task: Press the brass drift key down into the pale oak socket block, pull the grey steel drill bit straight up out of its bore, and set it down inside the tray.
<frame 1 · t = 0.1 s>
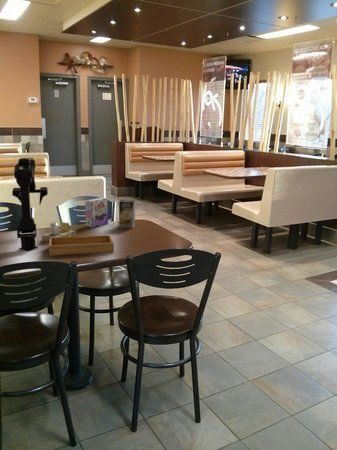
hand: (31, 205, 232), 15 cm above the table, tool pointing down, fingers open, 9 cm apart
tray: (81, 251, 203), on the table
coffee box: (127, 226, 249), on the table
candy box: (97, 225, 252), on the table
socket block: (59, 238, 222), on the table
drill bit: (55, 239, 219), resting in socket block
drift key: (64, 227, 225), point 5 cm above the table, slide at 0.0 cm
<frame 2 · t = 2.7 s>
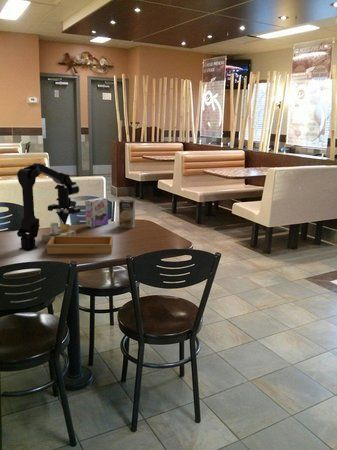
hand: (64, 224, 225), 7 cm above the table, tool pointing down, fingers closed, pressing on drift key
drift key: (64, 228, 226), point 4 cm above the table, slide at 0.6 cm, touching gripper
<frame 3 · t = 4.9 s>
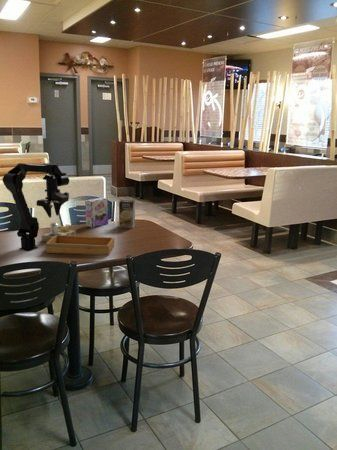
hand: (53, 216, 216), 13 cm above the table, tool pointing down, fingers open, 5 cm apart
drift key: (65, 231, 226), point 3 cm above the table, slide at 2.4 cm
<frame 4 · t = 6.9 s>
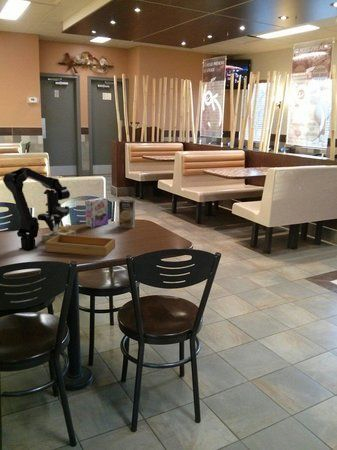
hand: (54, 230, 218), 6 cm above the table, tool pointing down, fingers closed on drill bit, 4 cm apart
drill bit: (55, 239, 219), resting in socket block, touching gripper
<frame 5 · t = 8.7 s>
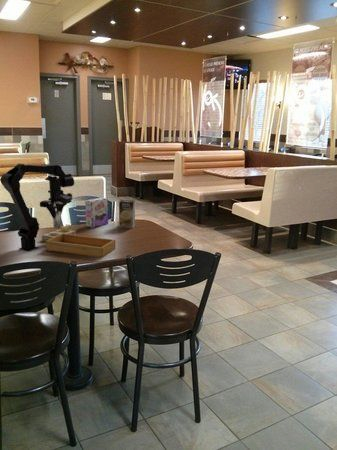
hand: (56, 217, 214), 13 cm above the table, tool pointing down, fingers closed on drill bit, 4 cm apart
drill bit: (57, 227, 215), point 7 cm above the table, touching gripper
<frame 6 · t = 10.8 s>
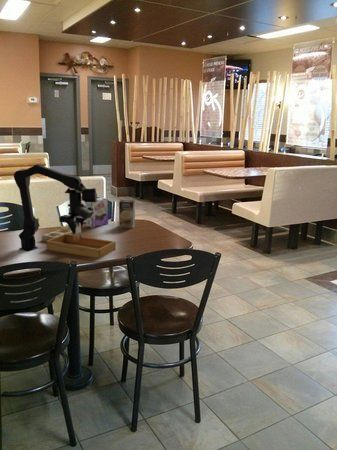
hand: (76, 232, 202), 9 cm above the table, tool pointing down, fingers closed on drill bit, 4 cm apart
tray: (81, 251, 203), on the table, touching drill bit
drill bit: (77, 240, 203), point 5 cm above the table, touching gripper, tray
everything else where it was.
when the fingers open (9 cm above the table, at t = 10.9 s): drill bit stays where it is, resting on tray.
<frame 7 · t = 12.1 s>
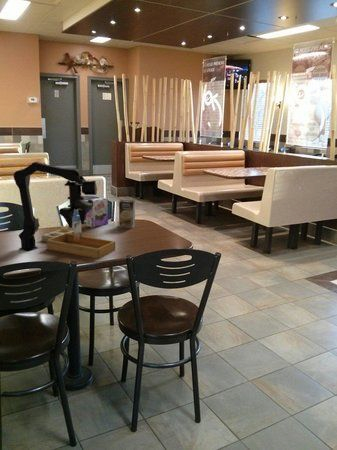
hand: (76, 225, 201), 12 cm above the table, tool pointing down, fingers open, 9 cm apart
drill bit: (77, 239, 202), point 5 cm above the table, touching tray
everything else where it was.
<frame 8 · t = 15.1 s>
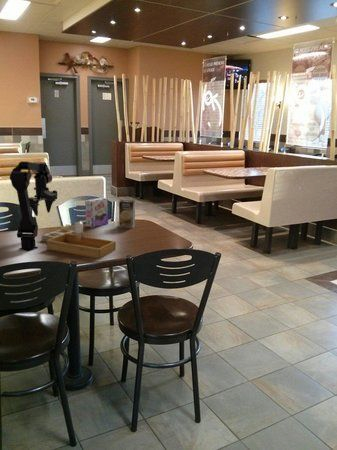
hand: (42, 214, 221), 13 cm above the table, tool pointing down, fingers open, 9 cm apart
nothing on the table moved.
at the end: drift key slide at 2.4 cm; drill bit inside the target area in the tray (1.1 cm from its centre), point 5.9 cm above the tray's base; the gripper is holding nothing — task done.
